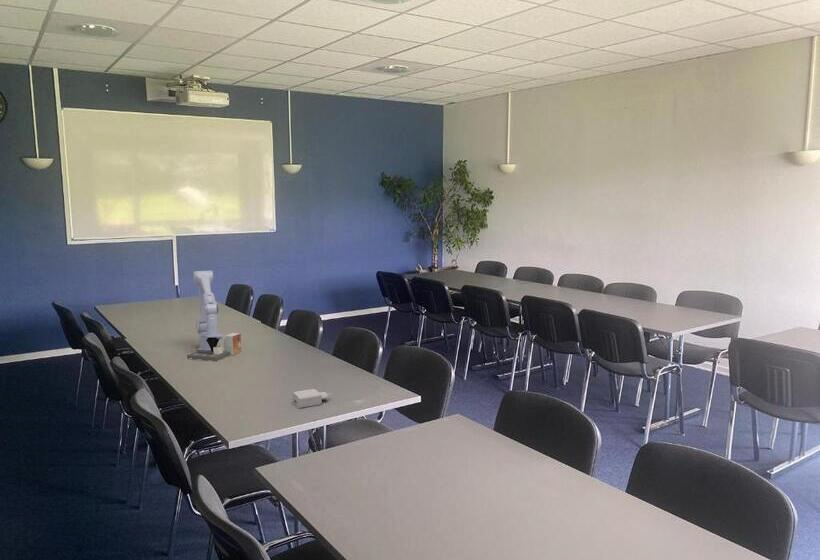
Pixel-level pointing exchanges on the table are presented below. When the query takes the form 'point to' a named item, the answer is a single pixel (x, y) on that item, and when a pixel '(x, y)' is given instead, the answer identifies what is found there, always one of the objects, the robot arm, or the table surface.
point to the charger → (308, 398)
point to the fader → (218, 350)
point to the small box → (233, 343)
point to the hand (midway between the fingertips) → (213, 351)
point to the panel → (208, 355)
